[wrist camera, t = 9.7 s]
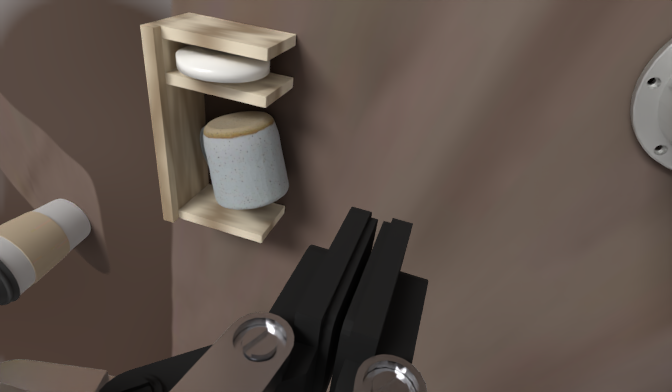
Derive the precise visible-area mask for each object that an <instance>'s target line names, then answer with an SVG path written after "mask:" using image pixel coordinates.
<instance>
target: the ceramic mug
mask: <svg viewBox="0 0 672 392" xmlns="http://www.w3.org/2000/svg"><path fill="white" fill-rule="evenodd" d="M200 145H201V150H202V153H203V156H204V158H205V160H206V162H207V164H208V166H209V169H210V175H211V180H212V185H213V190H214V194H215V198H216V201H217V202H218V204H219V205H221V206H222V207H225V208H228V209H235V210H245V209H255V208H259V207H263V206H265V205H268V204H271V203H273V202H275V201H277V200H278V199H280V198H281V197H282V196H284V195H285V194H286V192H287V191H288V188H289V182H288V177H287V172H286V168H285V162H284V158H283V153H282V148H281V143H280V137H279V132H278V129H277V126H276V123H275V121H274V119H273V118H272V116H270V115H269V114H267V113H265V112H260V111H244V112H237V113H232V114H227V115H224V116H221V117H218V118H215V119H213V120H212V121H210V122H209V123H208V124H207V125H206V126H205V127H203V128H202V129H201V132H200Z"/></svg>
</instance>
